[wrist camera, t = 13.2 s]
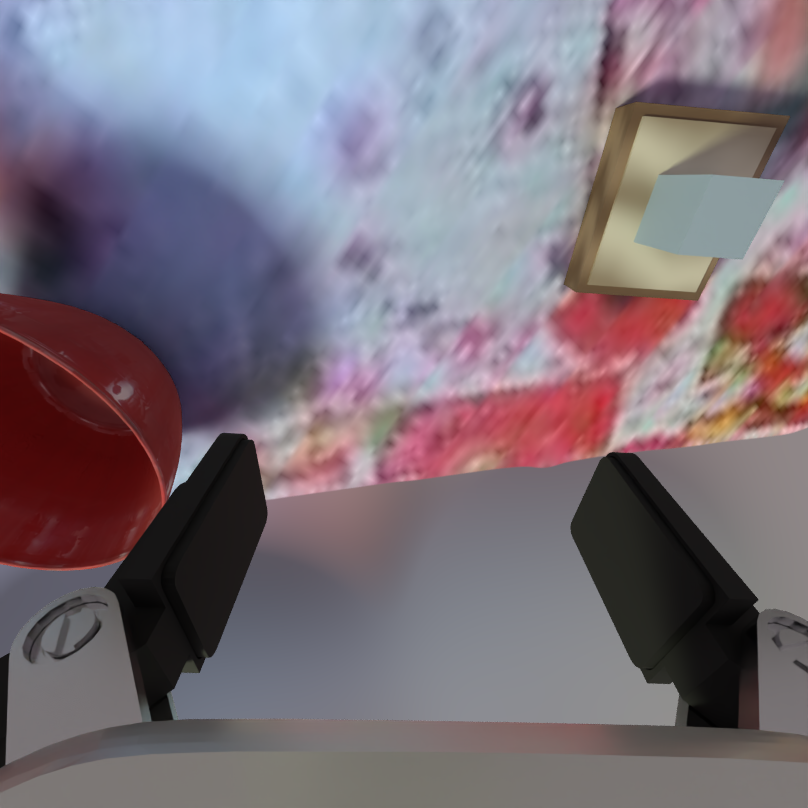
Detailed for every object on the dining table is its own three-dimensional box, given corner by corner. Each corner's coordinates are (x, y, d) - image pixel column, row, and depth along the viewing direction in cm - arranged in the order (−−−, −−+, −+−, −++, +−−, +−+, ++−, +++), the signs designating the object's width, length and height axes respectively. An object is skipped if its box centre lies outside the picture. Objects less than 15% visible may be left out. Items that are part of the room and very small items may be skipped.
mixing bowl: (51, 177, 32) (-193, 178, 19) (282, 404, 44) (233, 499, 31) (-86, 346, 40) (-322, 428, 27) (141, 496, 53) (55, 602, 40)
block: (658, 174, 29) (712, 174, 24) (718, 179, 29) (784, 180, 24) (633, 242, 32) (677, 254, 27) (688, 246, 32) (742, 259, 27)
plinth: (616, 108, 29) (638, 101, 27) (757, 121, 30) (793, 115, 27) (563, 284, 37) (576, 292, 34) (677, 292, 37) (699, 301, 35)
